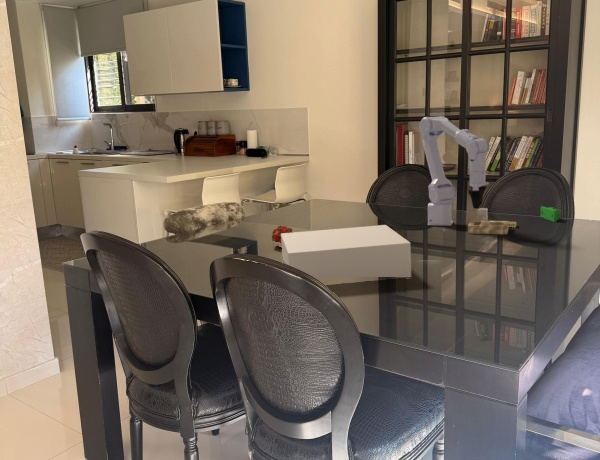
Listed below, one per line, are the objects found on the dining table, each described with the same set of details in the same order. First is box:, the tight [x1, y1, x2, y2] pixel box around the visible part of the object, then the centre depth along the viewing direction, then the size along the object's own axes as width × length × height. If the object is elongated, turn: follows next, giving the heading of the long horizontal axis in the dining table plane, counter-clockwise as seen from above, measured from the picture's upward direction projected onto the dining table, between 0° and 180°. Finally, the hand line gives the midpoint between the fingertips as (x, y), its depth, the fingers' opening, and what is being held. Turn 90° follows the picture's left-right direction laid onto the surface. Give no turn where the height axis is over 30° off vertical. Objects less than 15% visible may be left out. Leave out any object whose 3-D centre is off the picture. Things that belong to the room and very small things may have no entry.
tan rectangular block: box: [509, 221, 517, 229], centre depth 221 cm, size 6×4×2 cm, turn 67°
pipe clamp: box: [540, 206, 561, 223], centre depth 230 cm, size 11×4×5 cm, turn 3°
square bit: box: [476, 207, 488, 221], centre depth 225 cm, size 4×4×7 cm
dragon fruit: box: [271, 225, 294, 243], centre depth 211 cm, size 8×8×12 cm
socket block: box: [467, 220, 510, 235], centre depth 216 cm, size 14×10×3 cm
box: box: [281, 224, 412, 279], centre depth 174 cm, size 28×35×11 cm
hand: (477, 206), depth 216 cm, fingers open, 7 cm apart
